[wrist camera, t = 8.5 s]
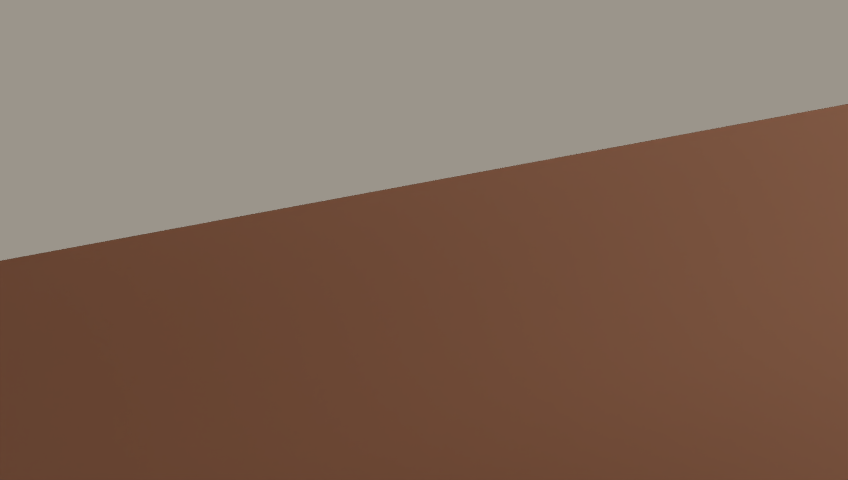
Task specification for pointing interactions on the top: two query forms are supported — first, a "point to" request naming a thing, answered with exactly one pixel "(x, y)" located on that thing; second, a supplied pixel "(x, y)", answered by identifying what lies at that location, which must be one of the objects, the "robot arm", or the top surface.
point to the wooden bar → (461, 327)
